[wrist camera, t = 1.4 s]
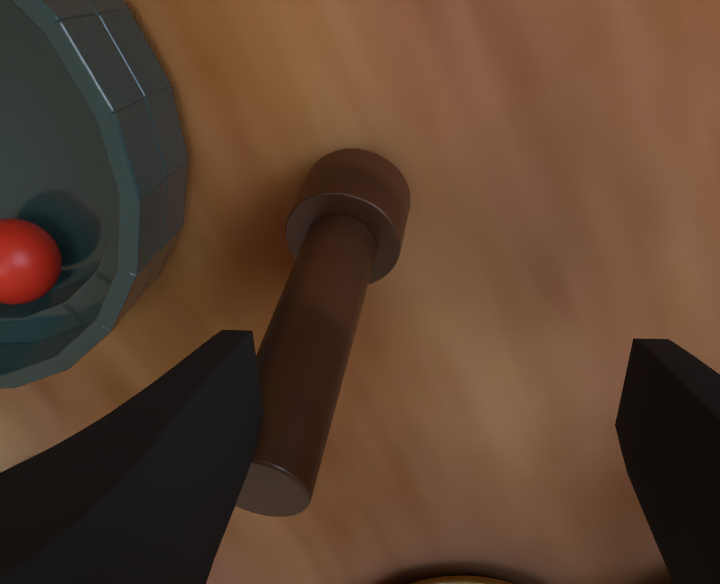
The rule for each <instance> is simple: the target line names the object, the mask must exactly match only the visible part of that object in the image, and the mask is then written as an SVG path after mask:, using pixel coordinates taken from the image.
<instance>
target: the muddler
mask: <svg viewBox="0 0 720 584" xmlns="http://www.w3.org/2000/svg"><path fill="white" fill-rule="evenodd" d="M409 208H410V192H409V189H408V185H407V183H406V181H405V179H404V178H403V176H402V174H401V173H400V172H399V171H398V169H397V168H396V167H395V166H394V165H393V164H391V163H390V162H389V161H387V160H386V159H384V158H383V157H381V156H379V155H377V154H374V153H372V152H368V151H364V150H359V149H344V150H339V151H335V152H332V153H330V154H328V155H326V156H324V157H323V158H321V159H320V160H319V161H317V162H316V163H315V164H314V166H313V167H312V168H311V170H310V172H309V173H308V176H307V178H306V180H305V182H304V184H303V186H302V188H301V191H300V193H299V195H298V197H297V199H296V201H295V203H294V206H293V208H292V210H291V212H290V214H289V216H288V219H287V222H286V227H285V235H286V241H287V244H288V247H289V250H290V252H291V254H292V255H293V257H294V258H295V263H294V265H293V268H292V270H291V272H290V275H289V277H288V280H287V282H286V284H285V287H284V289H283V292H282V294H281V297H280V299H279V301H278V304H277V306H276V309H275V311H274V313H273V316H272V318H271V321H270V323H269V326H268V328H267V330H266V333H265V335H264V338H263V340H262V342H261V345H260V347H259V350H258V352H257V354H256V360H257V367H258V374H259V381H260V388H261V395H262V402H263V409H264V415H263V419H262V424H261V428H260V433H259V437H258V441H257V445H256V449H255V453H254V457H253V460H252V463H251V465H250V468H249V471H248V473H247V476H246V478H245V481H244V484H243V486H242V489H241V492H240V494H239V497H238V499H237V502H236V504H235V506H237V507H240V508H242V509H244V510H247V511H250V512H253V513H257V514H261V515H267V516H279V517H281V516H291V515H295V514H298V513H300V512H302V511H304V510H305V509H306V508H307V507H308V505H309V504H310V501H311V498H312V494H313V490H314V487H315V483H316V479H317V475H318V472H319V468H320V464H321V460H322V456H323V453H324V449H325V445H326V441H327V437H328V434H329V430H330V426H331V422H332V419H333V415H334V411H335V407H336V403H337V400H338V396H339V392H340V388H341V384H342V381H343V377H344V373H345V369H346V366H347V362H348V358H349V354H350V350H351V347H352V343H353V339H354V335H355V331H356V328H357V324H358V320H359V316H360V313H361V309H362V305H363V301H364V297H365V294H366V290H367V286H368V284H370V283H373V282H376V281H378V280H380V279H381V278H383V277H384V276H386V275H387V274H388V273H389V272H390V271H391V270H392V269H393V267H394V266H395V264H396V262H397V260H398V257H399V254H400V249H401V245H402V240H403V236H404V231H405V227H406V222H407V217H408V213H409Z"/></svg>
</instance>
